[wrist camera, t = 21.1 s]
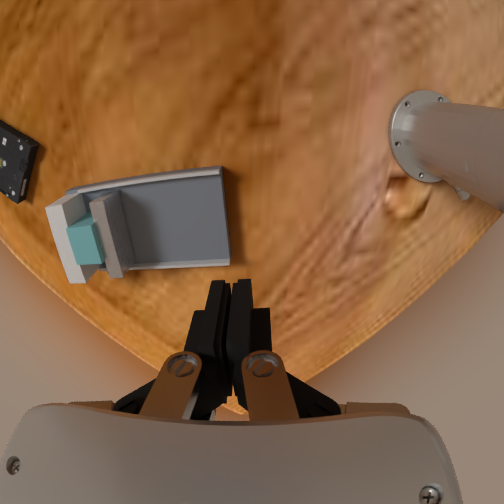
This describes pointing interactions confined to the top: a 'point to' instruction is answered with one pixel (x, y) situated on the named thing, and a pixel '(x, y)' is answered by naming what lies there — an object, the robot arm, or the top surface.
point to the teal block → (85, 241)
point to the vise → (154, 220)
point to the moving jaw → (112, 233)
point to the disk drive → (15, 162)
